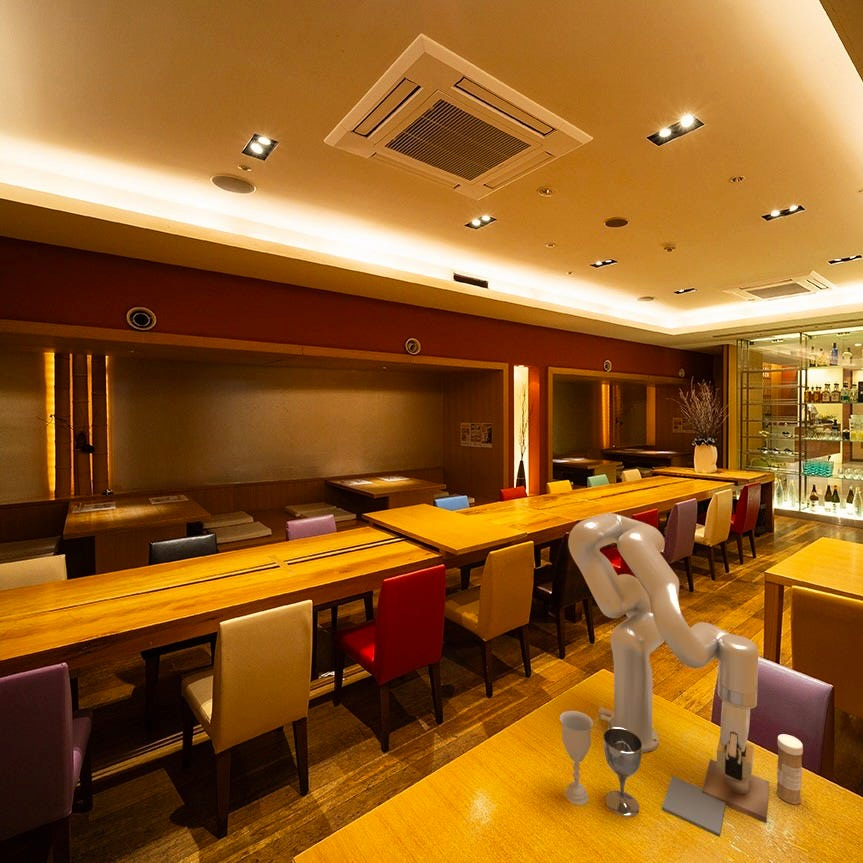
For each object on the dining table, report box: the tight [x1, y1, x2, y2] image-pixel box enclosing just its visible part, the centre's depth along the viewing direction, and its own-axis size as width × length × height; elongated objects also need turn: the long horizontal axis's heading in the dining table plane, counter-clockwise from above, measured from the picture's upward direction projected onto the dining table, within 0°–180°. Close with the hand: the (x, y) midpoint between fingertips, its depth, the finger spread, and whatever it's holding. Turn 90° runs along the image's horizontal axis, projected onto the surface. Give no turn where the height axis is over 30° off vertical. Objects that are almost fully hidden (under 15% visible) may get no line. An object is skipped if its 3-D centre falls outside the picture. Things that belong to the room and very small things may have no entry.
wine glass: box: [603, 728, 643, 818], centre depth 106 cm, size 8×8×15 cm
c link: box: [716, 738, 755, 780], centre depth 109 cm, size 7×7×4 cm
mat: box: [661, 775, 726, 837], centre depth 106 cm, size 11×11×1 cm
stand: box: [702, 751, 770, 824], centre depth 109 cm, size 12×12×9 cm
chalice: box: [559, 710, 594, 806], centre depth 108 cm, size 7×7×18 cm
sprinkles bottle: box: [776, 733, 804, 805], centre depth 107 cm, size 5×5×13 cm
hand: (735, 766), depth 109 cm, fingers closed on c link, 6 cm apart
